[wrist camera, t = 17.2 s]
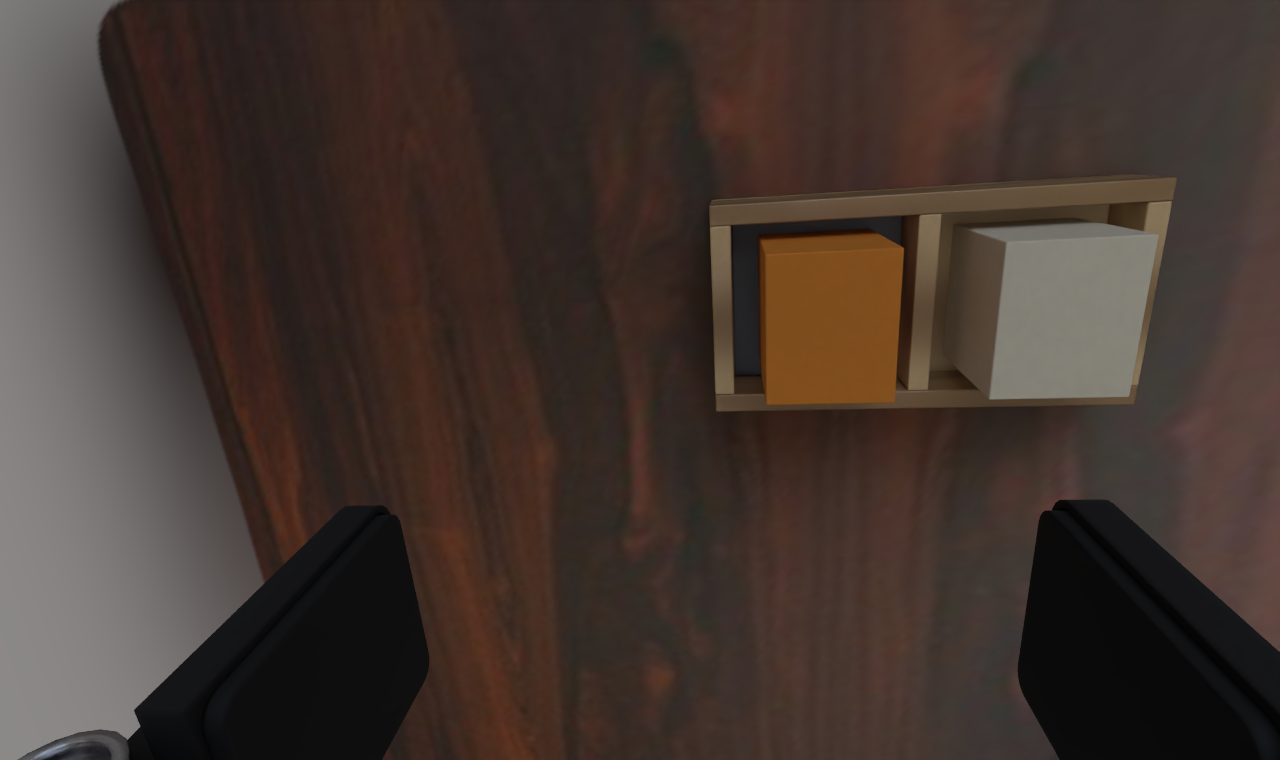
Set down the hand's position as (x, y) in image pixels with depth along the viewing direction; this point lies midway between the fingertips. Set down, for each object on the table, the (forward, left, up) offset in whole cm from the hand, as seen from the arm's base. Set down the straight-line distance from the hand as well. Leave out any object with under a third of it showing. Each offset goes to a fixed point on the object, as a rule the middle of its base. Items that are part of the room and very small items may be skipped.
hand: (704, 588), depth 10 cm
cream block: (+7, +9, -21) cm, 24 cm away
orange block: (+3, +3, -20) cm, 21 cm away
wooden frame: (+5, +6, -21) cm, 23 cm away
